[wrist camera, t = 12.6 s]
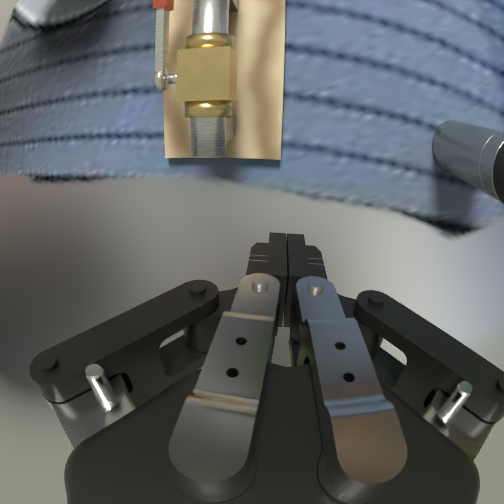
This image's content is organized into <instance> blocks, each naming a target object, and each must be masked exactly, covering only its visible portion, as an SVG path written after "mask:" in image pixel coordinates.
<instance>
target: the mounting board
mask: <svg viewBox="0 0 504 504" xmlns="http://www.w3.org/2000/svg"><path fill="white" fill-rule="evenodd" d="M192 12H193V0H174V10H173V11H170V17H169V58H168V70H169V72H170V74H171V73H176V72H177V50H181V49H185V38H186V37H187V36H189V35H191V33H192ZM228 34H230V35H233V36H234V51H235V53H236V54H237V55H238V60H237V101H232V116H236V130H235V136H234V137H233V138H231V139H230V140H228V141H227V142H226V154H225V155H222V156H216V157H195V156H191V138H190V118H184V102H176V84H170V87H169V89H168V90H165V91H164V136H165V158H253V159H275V160H280V157H281V135H282V111H283V83H284V47H285V0H239V6H238V12H229V23H228Z"/></svg>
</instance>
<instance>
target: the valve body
mask: <svg viewBox="0 0 504 504" xmlns="http://www.w3.org/2000/svg"><path fill="white" fill-rule="evenodd" d="M238 6H239V0H193V12H192V33H191V35H189V36H187V37H186V38H185V49H181V50H177V72H176V73H171V74H168V83H169V84H176V102H184V118H190V138H191V156H195V157H216V156H222V155H225V154H226V142H227V141H228V140H230V139H231V138H233V137H234V136H235V130H236V116H232V101H237V60H238V55H237V54H236V53H235V51H234V36H233V35H230V34H228V23H229V12H238Z"/></svg>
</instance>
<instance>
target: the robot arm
mask: <svg viewBox="0 0 504 504" xmlns="http://www.w3.org/2000/svg"><path fill="white" fill-rule="evenodd" d="M433 153H434V156H435V159H436V161H437V162H438V164H439V165H440V166H441V167H442V168H443V169H444V170H446V171H448V172H450V173H452V174H454V175H456V176H457V177H459V178H461V179H463V180H464V181H466V182H468V183H470V184H472V185H473V186H475V187H477V188H478V189H480V190H482V191H484V192H485V193H487V194H488V195H490V196H492V197H494V198H495V199H497V200H498V201H500V202H501V203H503V204H504V133H502V132H499V131H495V130H491V129H488V128H484V127H480V126H475V125H471V124H467V123H463V122H458V121H447V122H445V123H443V124H442V125H441V126H440V127H439V128H438V129H437V131H436V133H435V135H434V139H433ZM283 313H284V327H290V335H289V352H290V360H291V367H284V366H280V365H276V364H272V363H271V361H272V355H273V349H274V343H275V337H276V335H277V331H278V327H282V321H283ZM182 329H183V330H184V335H183V336H181V337H179V338H177V339H175V340H174V341H172V342H170V343H168V344H167V345H165V346H163V347H161V348H159V347H160V345H161V343H162V342H163V341H164V340H165V339H167V338H168V337H170V336H172V335H174V334H175V333H177V332H179V331H180V330H182ZM383 338H384V339H386V340H387V341H388V342H390V343H391V344H393V345H394V346H395V347H397V348H398V349H400V350H401V351H402V352H403V353H404V354H405V356H406V357H407V364H406V366H405V365H404V364H402V363H401V362H400V361H398V360H397V359H396V358H394V357H393V356H392V355H390V354H389V353H388V352H386V351H385V350H383V349H382V348H381V347H380V345H381V342H382V340H383ZM201 367H202V369H200V368H201ZM198 369H199V370H198ZM30 376H31V377H32V379H33V381H34V382H35V384H36V385H37V387H38V388H39V389H40V391H41V393H42V395H43V397H44V398H45V400H46V401H47V403H48V404H49V405H50V407H51V408H52V409H53V411H54V412H55V413H56V415H57V417H58V419H59V421H60V423H61V424H62V426H63V429H64V431H65V433H66V434H67V436H68V438H69V440H70V442H71V444H72V445H73V447H74V450H73V451H72V452H71V454H70V456H69V458H68V460H67V463H66V466H65V471H64V481H65V487H66V493H67V502H68V504H476V502H477V498H478V494H479V489H480V478H479V473H478V470H477V467H476V465H475V463H474V459H475V458H476V456H477V454H478V453H479V451H480V449H481V448H482V445H483V444H484V442H485V440H486V438H487V437H488V435H489V433H490V431H491V429H492V428H493V427H494V426H495V425H496V424H497V423H498V422H499V421H500V419H501V418H502V417H503V416H504V372H503V371H502V370H500V369H499V368H497V367H496V366H495V365H493V364H492V363H490V362H489V361H487V360H486V359H484V358H483V357H481V356H480V355H478V354H477V353H476V352H474V351H473V350H471V349H470V348H468V347H467V346H465V345H463V344H462V343H461V342H459V341H458V340H456V339H455V338H453V337H452V336H450V335H449V334H447V333H445V332H444V331H442V330H441V329H439V328H438V327H436V326H435V325H433V324H432V323H430V322H429V321H427V320H425V319H424V318H422V317H421V316H419V315H418V314H416V313H415V312H413V311H412V310H410V309H408V308H407V307H405V306H404V305H402V304H401V303H399V302H397V301H396V300H394V299H393V298H391V297H389V296H388V295H386V294H384V293H382V292H379V291H373V290H368V291H363V292H361V293H360V294H359V295H358V296H357V299H352V298H348V297H344V296H341V295H339V294H337V292H336V289H335V287H334V285H333V284H332V283H331V282H330V281H328V280H327V276H326V271H325V267H324V263H323V259H322V254H321V251H319V250H318V249H317V248H316V247H315V246H307V245H305V239H304V235H303V234H287V241H286V234H285V233H271V232H270V236H269V243H256V244H255V245H254V246H253V247H252V248H251V252H250V257H249V263H248V268H247V273H246V276H245V277H244V278H242V280H241V281H240V284H239V287H237V288H235V289H231V290H226V291H218V288H217V286H216V285H215V284H213V283H212V282H209V281H206V280H193V281H190V282H186V283H184V284H182V285H180V286H178V287H176V288H174V289H172V290H170V291H167V292H165V293H163V294H161V295H159V296H157V297H155V298H153V299H151V300H149V301H147V302H145V303H143V304H141V305H138V306H136V307H134V308H132V309H130V310H128V311H126V312H124V313H122V314H120V315H118V316H116V317H114V318H111V319H110V320H107V321H105V322H103V323H101V324H99V325H97V326H95V327H93V328H91V329H89V330H87V331H84V332H82V333H80V334H78V335H76V336H74V337H72V338H70V339H68V340H66V341H64V342H62V343H60V344H57V345H55V346H53V347H51V348H49V349H47V350H45V351H43V352H41V353H40V354H38V355H37V356H36V357H35V358H34V359H33V361H32V363H31V365H30ZM135 408H136V409H135Z"/></svg>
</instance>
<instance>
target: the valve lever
mask: <svg viewBox="0 0 504 504" xmlns="http://www.w3.org/2000/svg"><path fill="white" fill-rule="evenodd" d="M153 9H155V10H156V11H157V14H156V45H155V72H154V75H153V84H154V88H155V90H156V91H165V90H168V89H169V87H170V84H169V83H168V74H170V72H169V70H168V58H169V17H170V11H173V10H174V0H153Z"/></svg>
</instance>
